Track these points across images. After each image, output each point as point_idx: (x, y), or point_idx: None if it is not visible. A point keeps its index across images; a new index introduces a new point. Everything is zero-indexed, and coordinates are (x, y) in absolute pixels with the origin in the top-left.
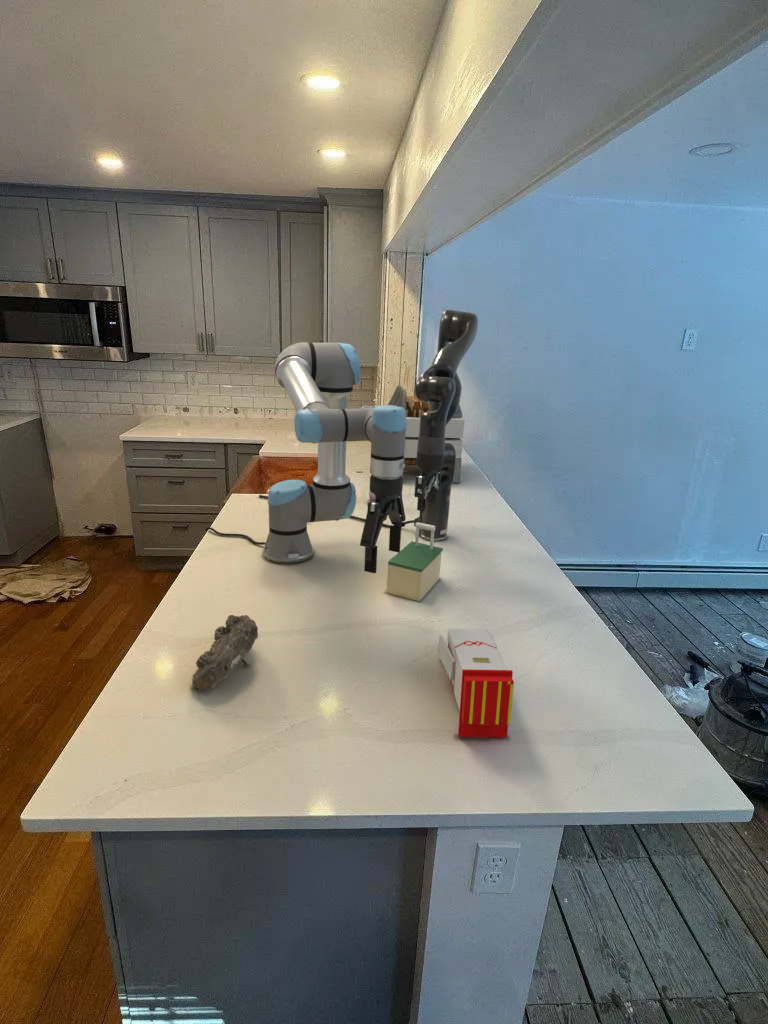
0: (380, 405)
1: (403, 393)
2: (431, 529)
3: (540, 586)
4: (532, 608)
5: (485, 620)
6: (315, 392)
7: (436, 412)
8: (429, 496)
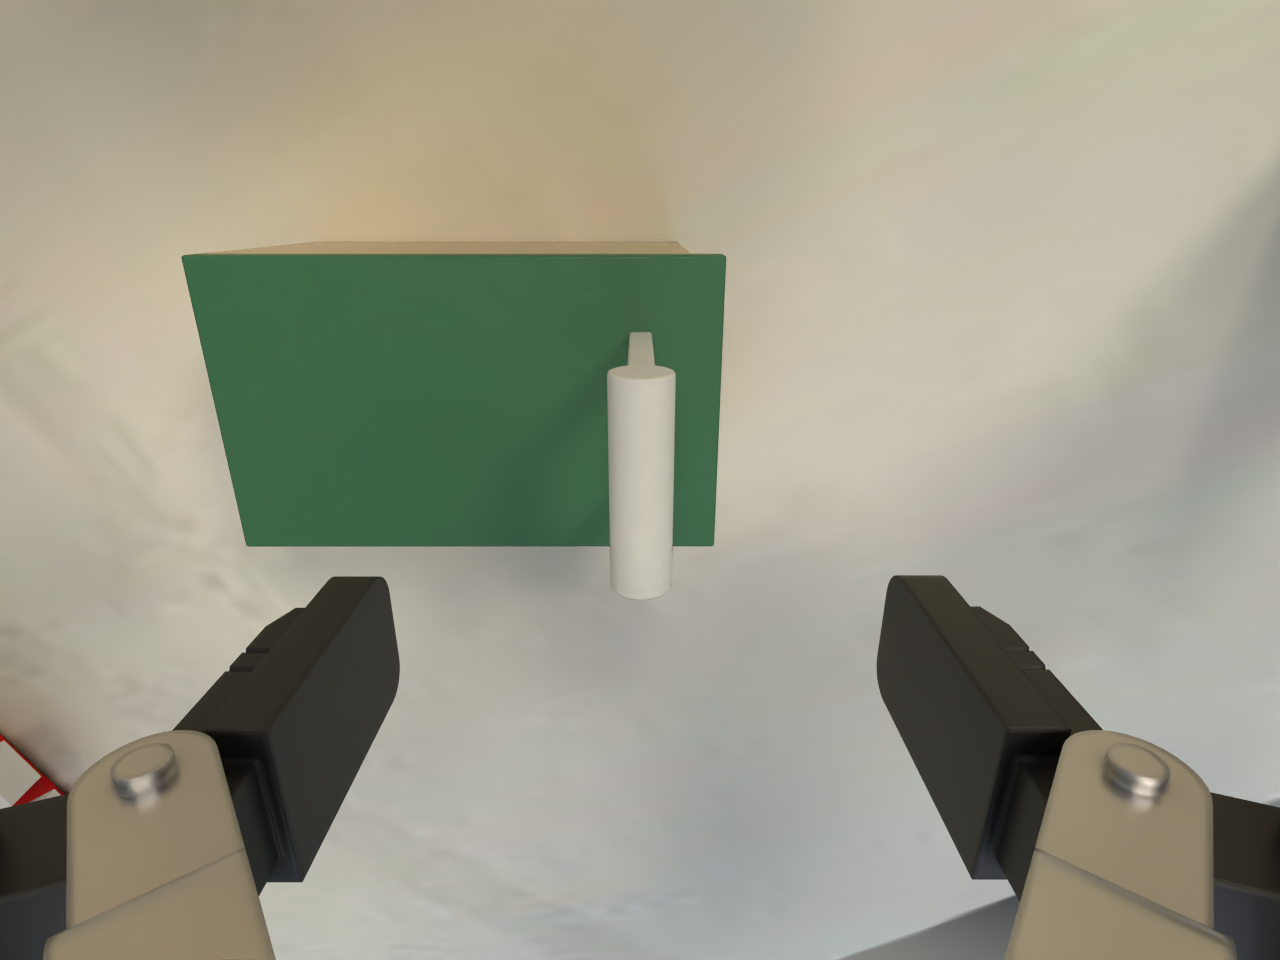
0: None
1: None
2: (610, 561)
3: (835, 872)
4: (605, 879)
5: (386, 761)
6: None
7: None
8: (929, 645)
